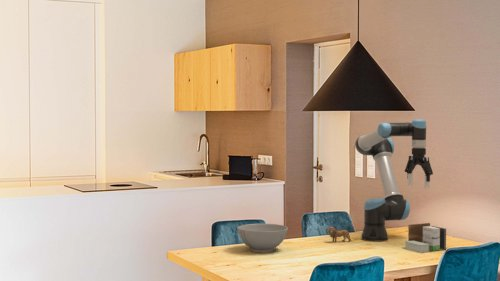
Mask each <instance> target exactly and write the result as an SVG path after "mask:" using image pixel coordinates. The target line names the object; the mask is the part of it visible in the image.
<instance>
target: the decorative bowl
mask: <svg viewBox="0 0 500 281" xmlns="http://www.w3.org/2000/svg"><path fill="white" fill-rule="evenodd" d="M236 229H237V233H238V234H239V238H240V239H241V241H242V242H243V243H244V245H245V246H247V247H248V248H250V250H251V251H252V252H254V251H255V252H256V253H271V252H274V251H275V248H278V247H279V246H280V245H281V244H282V243H283V242H284V240H285V238H286V236H287V234H288V230H289V227H288V226H286V225H282V224H276V223H249V224H241V225H238V226H237V228H236ZM270 251H271V252H270Z"/></svg>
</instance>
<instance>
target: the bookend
mask: <svg viewBox="0 0 500 281" xmlns="http://www.w3.org/2000/svg"><path fill="white" fill-rule="evenodd" d="M430 226H431V227H436V228H440V249H444V251H447V250H446V249H448V248H447V228H444V227H440V226H434V225H430Z"/></svg>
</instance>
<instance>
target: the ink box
mask: <svg viewBox="0 0 500 281" xmlns="http://www.w3.org/2000/svg"><path fill="white" fill-rule="evenodd" d="M431 226H432V225H430V226H424V227H423V243H426V244H429V250H432V251H435V252H438V251H437V250H440V228H441V227H440V228H436V227H437V226H435V227H431Z"/></svg>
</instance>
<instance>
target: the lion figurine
mask: <svg viewBox="0 0 500 281" xmlns="http://www.w3.org/2000/svg"><path fill="white" fill-rule="evenodd" d="M327 235H328V236H330V238H331V239H332V241H331V242H332V243H335V244H336V243H337V242H338V241H337V239H338V238H341V237H342V238H343V239H342V240H341V242H345V241H346V239H347V242H348V243H350V242H351V241H353V240H352V239H351V235H350V232H349V231H348V230H346V229H343V230H338V229H336V228H335V227H333V226H329V227H328V228H327Z"/></svg>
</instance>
